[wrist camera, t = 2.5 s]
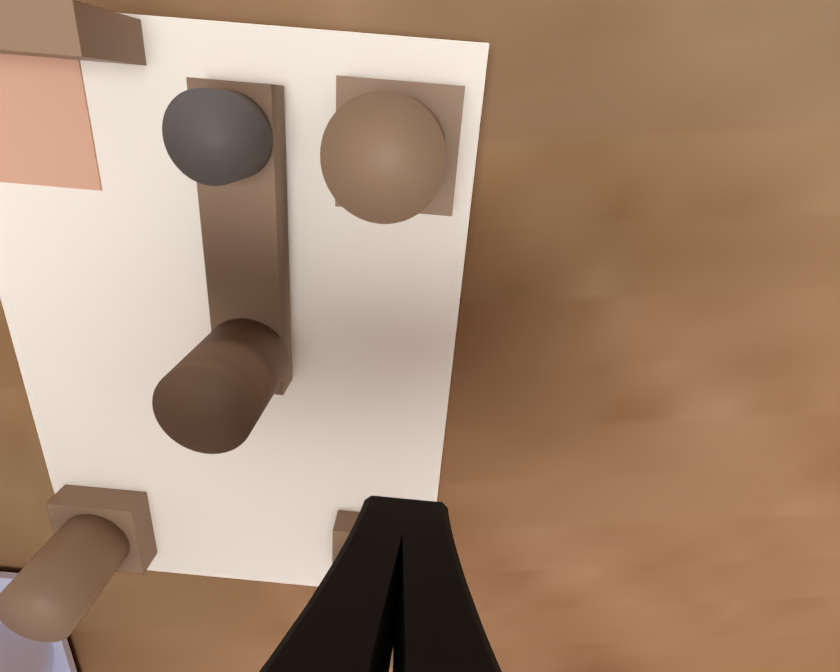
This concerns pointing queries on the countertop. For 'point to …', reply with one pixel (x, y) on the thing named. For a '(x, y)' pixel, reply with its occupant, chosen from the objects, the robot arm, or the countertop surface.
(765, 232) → the countertop surface
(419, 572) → the robot arm
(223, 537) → the white board with posts
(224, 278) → the hinged leg
